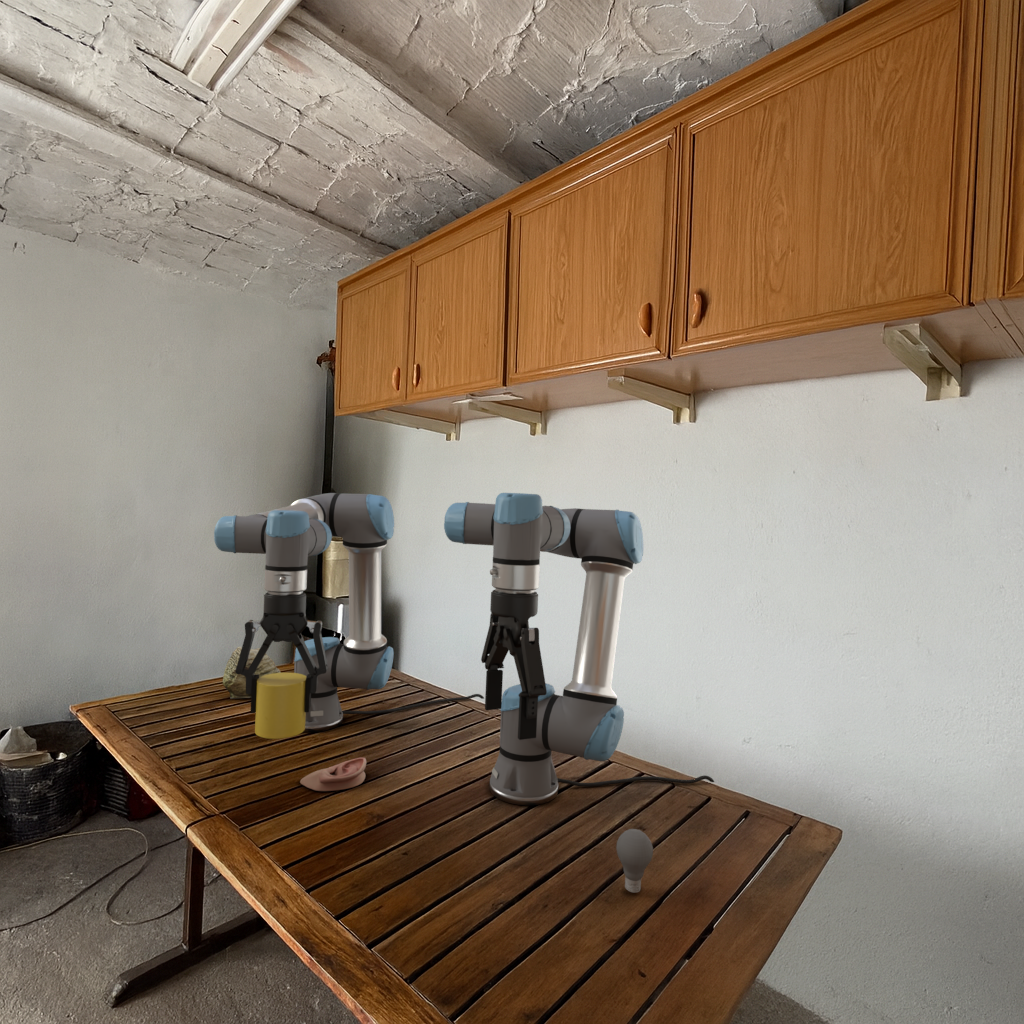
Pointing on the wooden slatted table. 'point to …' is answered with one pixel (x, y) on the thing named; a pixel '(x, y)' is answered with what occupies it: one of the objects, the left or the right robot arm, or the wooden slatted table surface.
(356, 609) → the left robot arm
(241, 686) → the fossil
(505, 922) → the wooden slatted table surface
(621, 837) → the light bulb
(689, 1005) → the wooden slatted table surface
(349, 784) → the anatomical model
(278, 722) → the canister
